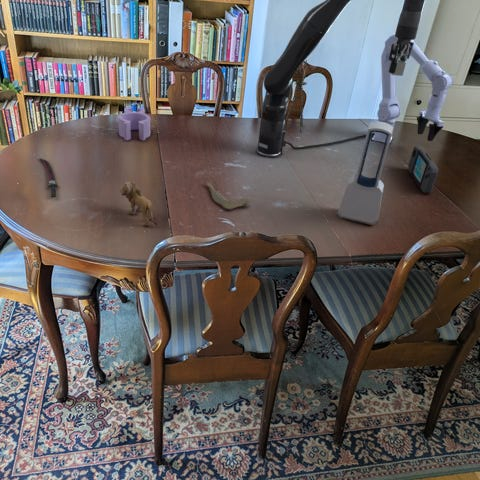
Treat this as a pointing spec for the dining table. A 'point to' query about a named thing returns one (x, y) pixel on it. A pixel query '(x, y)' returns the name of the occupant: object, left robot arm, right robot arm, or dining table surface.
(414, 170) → the handheld gaming console
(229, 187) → the dining table surface
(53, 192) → the sword
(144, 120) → the clip
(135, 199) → the lion figurine
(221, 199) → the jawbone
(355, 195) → the electronic device
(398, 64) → the gray block
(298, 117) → the dark upright piece
